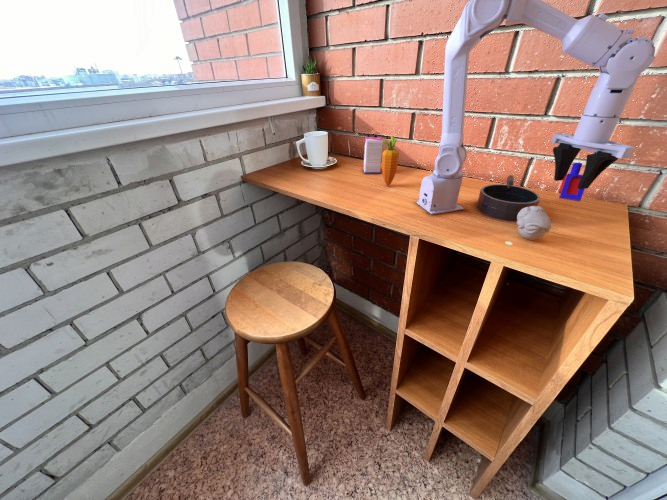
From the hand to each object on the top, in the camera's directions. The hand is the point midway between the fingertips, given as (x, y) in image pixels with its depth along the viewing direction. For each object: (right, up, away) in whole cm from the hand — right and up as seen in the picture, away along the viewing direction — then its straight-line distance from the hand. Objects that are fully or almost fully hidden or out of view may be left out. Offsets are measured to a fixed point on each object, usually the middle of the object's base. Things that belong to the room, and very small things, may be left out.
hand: (570, 184), depth 62 cm
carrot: (-34, +6, +29) cm, 45 cm away
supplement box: (-38, +14, +42) cm, 58 cm away
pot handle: (-2, +4, +19) cm, 19 cm away
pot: (-7, -4, +13) cm, 15 cm away
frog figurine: (-9, -12, 0) cm, 15 cm away
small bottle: (0, -3, +1) cm, 3 cm away
